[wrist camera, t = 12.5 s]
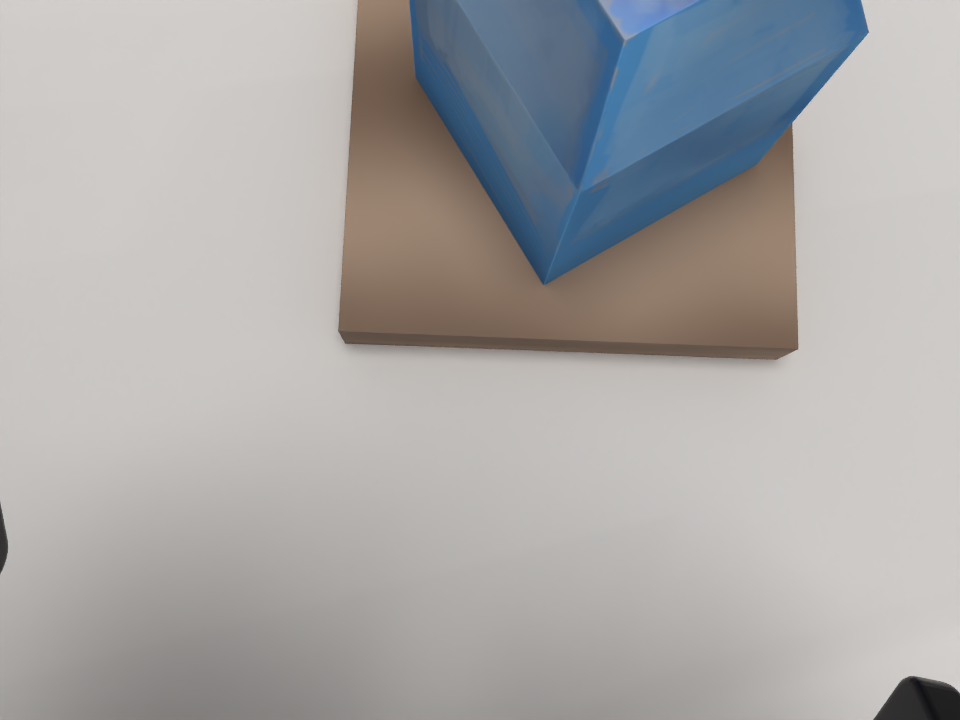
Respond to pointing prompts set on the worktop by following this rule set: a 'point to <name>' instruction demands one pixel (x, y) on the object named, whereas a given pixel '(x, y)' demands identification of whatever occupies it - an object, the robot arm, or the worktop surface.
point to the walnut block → (506, 270)
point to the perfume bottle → (618, 103)
